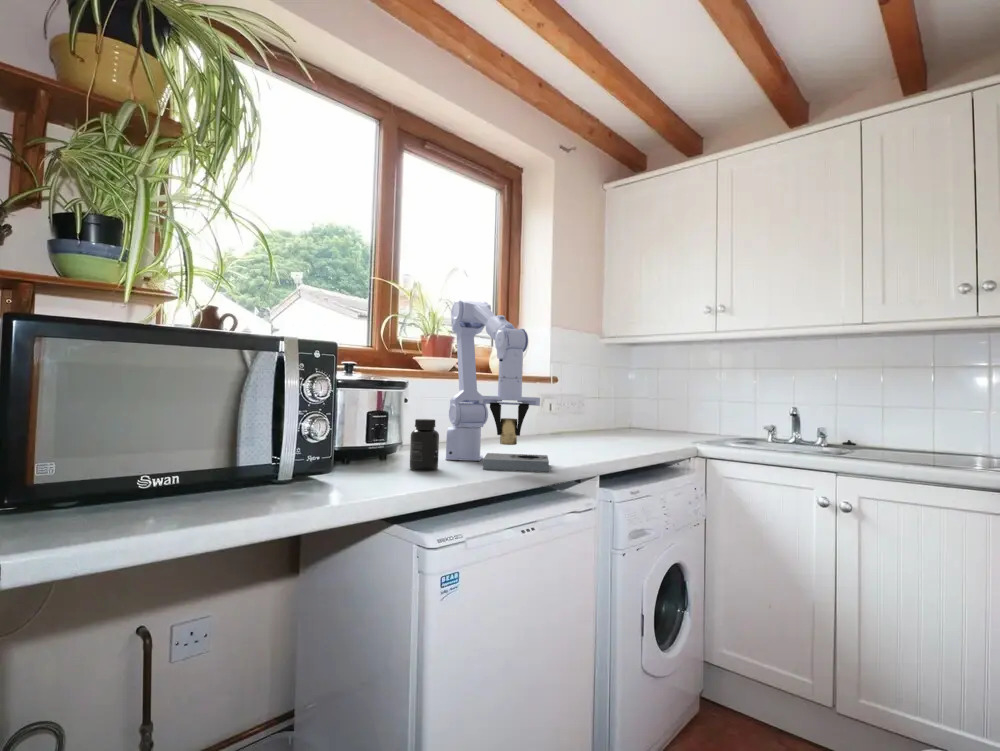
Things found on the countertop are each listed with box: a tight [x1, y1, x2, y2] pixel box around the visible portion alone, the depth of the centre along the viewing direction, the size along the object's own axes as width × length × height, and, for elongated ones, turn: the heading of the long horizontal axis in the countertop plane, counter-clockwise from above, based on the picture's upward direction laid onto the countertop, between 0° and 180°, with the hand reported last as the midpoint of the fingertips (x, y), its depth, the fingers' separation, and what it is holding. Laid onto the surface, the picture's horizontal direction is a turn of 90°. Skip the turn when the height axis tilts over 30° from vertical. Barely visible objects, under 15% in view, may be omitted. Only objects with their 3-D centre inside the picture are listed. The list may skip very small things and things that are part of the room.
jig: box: [482, 452, 550, 473], centre depth 134 cm, size 16×12×2 cm
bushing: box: [499, 417, 518, 446], centre depth 125 cm, size 4×4×6 cm
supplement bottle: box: [409, 418, 440, 472], centre depth 126 cm, size 7×7×12 cm
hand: (508, 435), depth 125 cm, fingers closed on bushing, 4 cm apart
